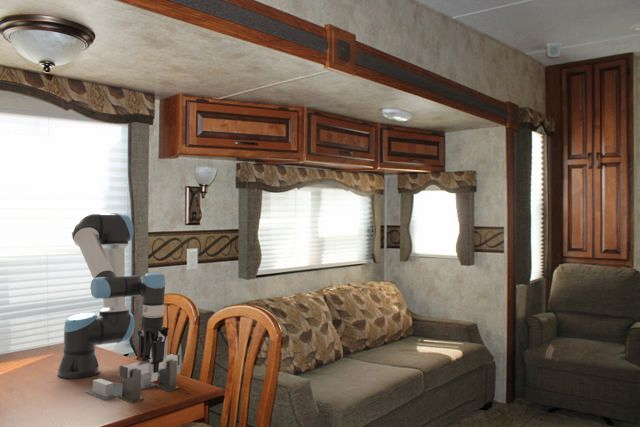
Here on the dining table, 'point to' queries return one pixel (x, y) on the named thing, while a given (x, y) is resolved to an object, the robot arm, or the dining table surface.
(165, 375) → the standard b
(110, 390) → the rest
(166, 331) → the travel mug
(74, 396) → the dining table surface
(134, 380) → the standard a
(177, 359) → the rail
